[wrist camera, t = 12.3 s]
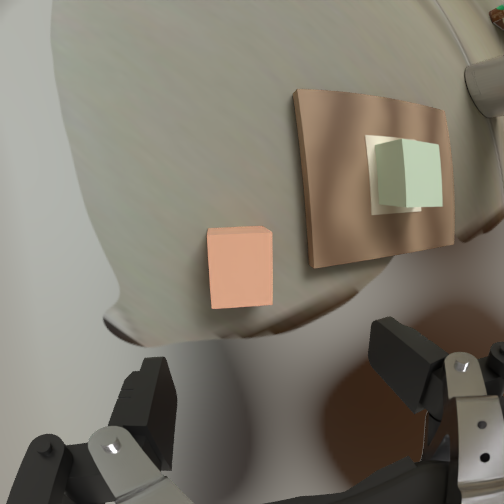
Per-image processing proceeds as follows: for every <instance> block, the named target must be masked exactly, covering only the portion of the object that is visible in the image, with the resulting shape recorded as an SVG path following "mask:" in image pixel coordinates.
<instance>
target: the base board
mask: <svg viewBox="0 0 504 504" xmlns="http://www.w3.org/2000/svg"><path fill="white" fill-rule="evenodd" d="M293 100H294V107H295V114H296V122H297V130H298V138H299V147H300V156H301V166H302V176H303V186H304V198H305V210H306V224H307V240H308V258H309V265H310V266H311V267H313V268H321V267H327V266H334V265H340V264H346V263H352V262H358V261H364V260H370V259H376V258H382V257H388V256H394V255H399V254H405V253H410V252H416V251H422V250H427V249H432V248H438V247H443V246H448V245H453V244H454V229H455V201H454V179H453V166H452V156H451V147H450V140H449V133H448V127H447V121H446V115H445V111H443V110H440V109H436V108H432V107H428V106H424V105H420V104H415V103H411V102H406V101H401V100H396V99H390V98H385V97H378V96H372V95H365V94H357V93H348V92H339V91H327V90H311V89H297V90H296V91H295V92H294V93H293ZM398 139H408V140H414V141H421V142H427V143H433V144H438V145H439V152H440V162H441V176H442V205H443V207H407V208H406V207H398V206H389V205H380V204H379V192H378V175H377V161H376V151H375V145H377V144H381V143H385V142H390V141H394V140H398Z"/></svg>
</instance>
